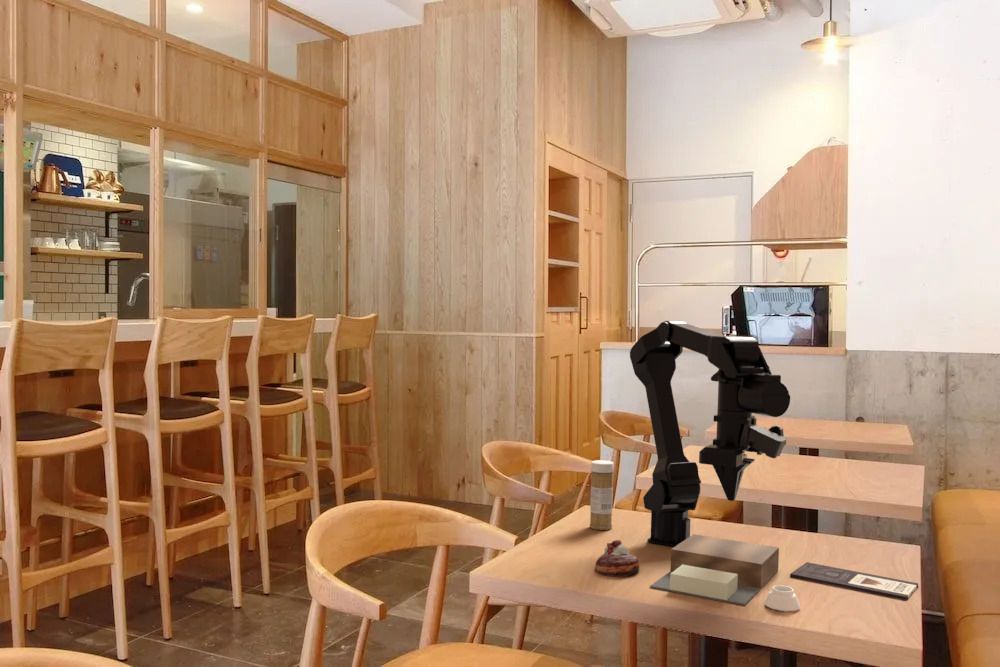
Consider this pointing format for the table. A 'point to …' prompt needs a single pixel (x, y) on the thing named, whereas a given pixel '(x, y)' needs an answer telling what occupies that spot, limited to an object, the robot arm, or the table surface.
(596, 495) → the sprinkles bottle
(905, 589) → the chocolate bar
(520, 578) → the table surface
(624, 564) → the pastry
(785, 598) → the lidless jar
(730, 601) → the mat
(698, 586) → the cream block
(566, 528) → the table surface
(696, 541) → the wooden block
